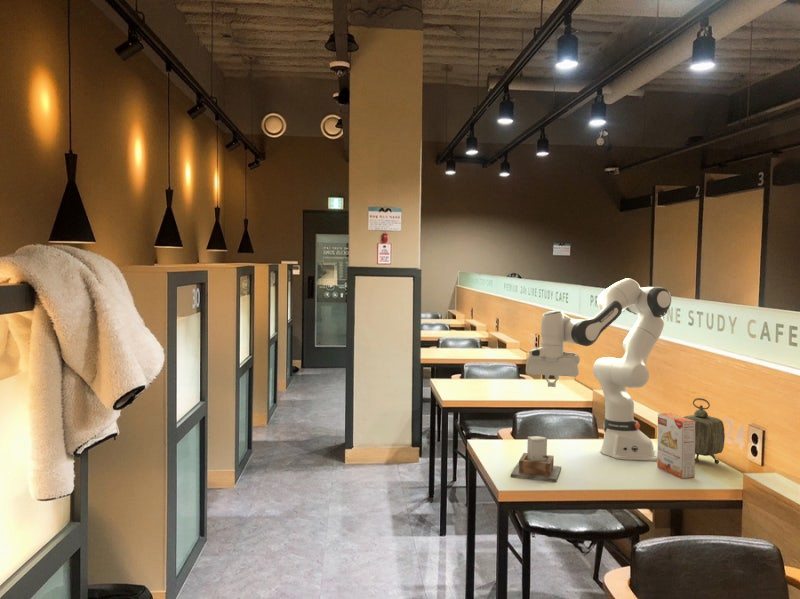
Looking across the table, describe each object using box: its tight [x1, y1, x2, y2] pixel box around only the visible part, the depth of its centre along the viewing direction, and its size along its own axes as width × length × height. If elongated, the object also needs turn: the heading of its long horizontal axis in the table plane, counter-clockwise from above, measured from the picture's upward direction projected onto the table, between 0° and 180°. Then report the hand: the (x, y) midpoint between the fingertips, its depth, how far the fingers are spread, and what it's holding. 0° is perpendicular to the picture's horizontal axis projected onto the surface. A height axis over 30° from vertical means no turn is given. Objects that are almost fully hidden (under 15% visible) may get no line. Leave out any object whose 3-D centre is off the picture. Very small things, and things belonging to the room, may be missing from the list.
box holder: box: [510, 452, 562, 483], centre depth 226 cm, size 16×16×6 cm
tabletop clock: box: [683, 397, 726, 465], centre depth 241 cm, size 14×9×25 cm, turn 31°
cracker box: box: [656, 412, 696, 480], centre depth 227 cm, size 14×6×21 cm, turn 13°
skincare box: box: [526, 435, 548, 462], centre depth 226 cm, size 6×4×12 cm
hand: (551, 386), depth 242 cm, fingers closed
